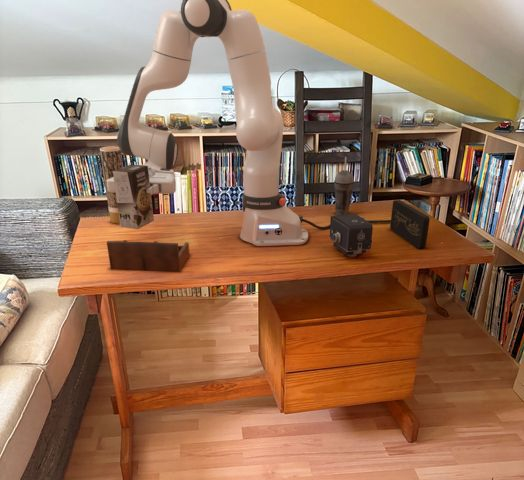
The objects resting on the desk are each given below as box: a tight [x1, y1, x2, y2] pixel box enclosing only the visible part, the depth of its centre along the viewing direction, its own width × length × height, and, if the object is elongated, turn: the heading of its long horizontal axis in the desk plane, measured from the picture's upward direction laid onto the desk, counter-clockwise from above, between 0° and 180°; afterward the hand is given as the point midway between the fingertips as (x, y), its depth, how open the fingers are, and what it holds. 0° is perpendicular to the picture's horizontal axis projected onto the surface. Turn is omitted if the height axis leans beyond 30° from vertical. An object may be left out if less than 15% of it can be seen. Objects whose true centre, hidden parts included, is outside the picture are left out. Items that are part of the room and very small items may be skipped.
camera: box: [328, 213, 374, 258], centre depth 162 cm, size 11×11×15 cm
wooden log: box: [99, 145, 124, 225], centre depth 186 cm, size 7×7×25 cm
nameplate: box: [389, 199, 431, 249], centre depth 173 cm, size 21×2×10 cm, turn 14°
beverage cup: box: [333, 156, 355, 215], centre depth 195 cm, size 7×7×20 cm
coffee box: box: [113, 164, 155, 230], centre depth 155 cm, size 9×6×16 cm
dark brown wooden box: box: [106, 240, 190, 273], centre depth 156 cm, size 20×13×8 cm, turn 84°
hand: (134, 191), depth 154 cm, fingers closed on coffee box, 7 cm apart
